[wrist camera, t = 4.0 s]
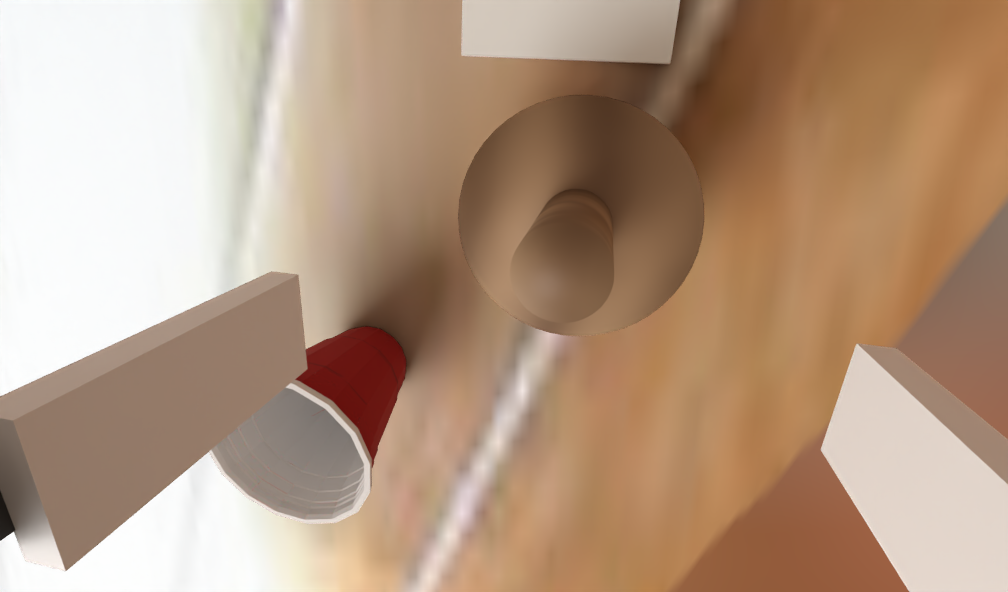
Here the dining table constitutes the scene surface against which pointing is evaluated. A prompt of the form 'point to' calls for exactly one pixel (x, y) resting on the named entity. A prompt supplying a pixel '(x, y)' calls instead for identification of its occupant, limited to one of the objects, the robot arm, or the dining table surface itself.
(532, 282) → the lid
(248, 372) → the robot arm
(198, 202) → the dining table surface
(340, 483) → the plastic cup
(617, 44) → the mat
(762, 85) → the dining table surface
